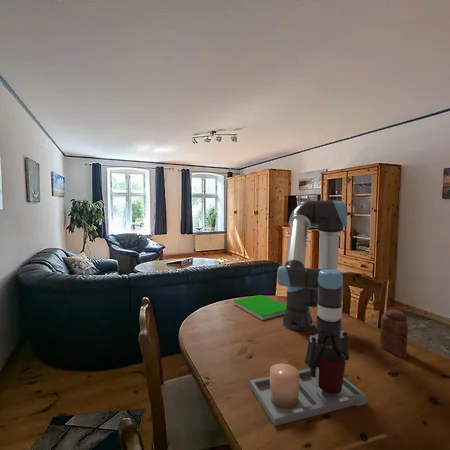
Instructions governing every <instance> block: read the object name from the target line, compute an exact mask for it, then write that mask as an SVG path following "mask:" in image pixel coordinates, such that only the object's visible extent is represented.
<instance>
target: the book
mask: <svg viewBox="0 0 450 450" xmlns="http://www.w3.org/2000/svg"><path fill="white" fill-rule="evenodd" d="M234 304H235V305H234ZM233 305H234V306H236V305H237V306H236V307H237V308H240V309H241V308H242V309H241V310H243V311H245V312H247V313H249V314H250V315H252V316H254V317H256V318H257V319H260V320H261V321H265V320H269V319H272V318H276V317H278V316H279V317H280V316H282V315H283V316H284V314H285V311H286V306H287V304H286V305H285V304H284V303H281V302H279V301H276V300H274V299H271V298H270V297H267V296H265V295H263V294H257V295H253V296H249V297H243V298H239V299H234V300H233Z"/></svg>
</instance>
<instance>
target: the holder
mask: <svg viewBox="0 0 450 450" xmlns="http://www.w3.org/2000/svg"><path fill="white" fill-rule="evenodd" d="M298 371H299V398H298V404H297V406H296V407H294V408H291V409H283V408H279V407H277V406H275V405H274V404H273V403H272V402H271V401H270V375H269V376H264V377H260V378H254V379H249V388H251V389H250V390H252V392H253V393H254V396H255V397H256V399H257V400H258V402H259V404H260V405H261V407H262V409H263V410H264V411H265V413H266V414H267V416H268V418H269V420H270V421H271V423H272V424H273V426H274V427H276V426H279V425H284V424H287V423H291V422H295V421H298V420H299V421H300V420H302V419H303V420H304V419H306V418H307V419H308V418H310V417H314V416H315V417H316V416H318V415H323V414H327V413H330V412H333V411H337V410H341V409H346V408H349V407H353V406H357V407H360V406H363V405H366V404H367V395H366V394H365V393H364V392H363V391H362V390H361V389H359V388H358V387H356V385H354V384H353V383H352V382H350V380H348V379H347V378H346V377H345V376H344V377H343V385H342V390H341V392H340V393H337V394H331V393H327V392H325V391H323V390H321V389H320V388H319V386H318V388H316V387H315V386H314V385H313V384H312V376H311V375H310V367H309V368H304V369H299V370H298Z"/></svg>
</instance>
